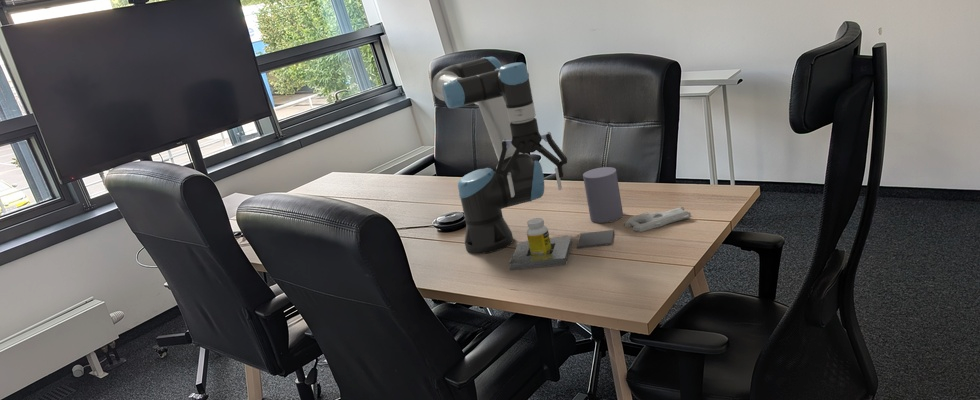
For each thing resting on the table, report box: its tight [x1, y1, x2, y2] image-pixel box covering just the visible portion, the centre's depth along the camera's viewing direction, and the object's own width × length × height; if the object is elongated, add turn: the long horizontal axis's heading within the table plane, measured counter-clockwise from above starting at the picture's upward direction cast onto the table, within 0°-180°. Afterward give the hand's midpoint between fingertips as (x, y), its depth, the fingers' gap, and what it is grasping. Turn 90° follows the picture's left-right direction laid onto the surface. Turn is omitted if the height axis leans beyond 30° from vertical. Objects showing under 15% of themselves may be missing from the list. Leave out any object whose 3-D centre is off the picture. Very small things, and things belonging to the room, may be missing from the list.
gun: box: [624, 206, 692, 233], centre depth 223 cm, size 18×3×10 cm
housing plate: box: [508, 235, 573, 271], centre depth 216 cm, size 16×16×2 cm
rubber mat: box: [576, 229, 615, 249], centre depth 219 cm, size 10×10×1 cm
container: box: [582, 166, 624, 224], centre depth 233 cm, size 10×10×15 cm
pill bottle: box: [526, 217, 553, 256], centre depth 215 cm, size 6×6×11 cm
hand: (536, 192), depth 212 cm, fingers open, 13 cm apart
